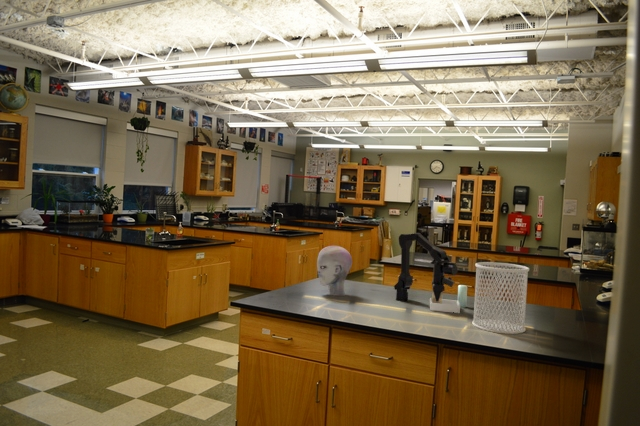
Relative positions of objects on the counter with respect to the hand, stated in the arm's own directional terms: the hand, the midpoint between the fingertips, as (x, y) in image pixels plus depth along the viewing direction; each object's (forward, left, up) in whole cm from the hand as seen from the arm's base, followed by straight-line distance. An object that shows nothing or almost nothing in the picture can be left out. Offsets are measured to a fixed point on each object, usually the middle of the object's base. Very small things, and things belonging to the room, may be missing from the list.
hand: (437, 300), depth 262 cm
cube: (0, 0, -1) cm, 1 cm away
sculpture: (-62, +14, -5) cm, 64 cm away
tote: (+4, 0, -4) cm, 6 cm away
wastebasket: (+28, -29, -5) cm, 41 cm away
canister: (+15, +11, -4) cm, 19 cm away
